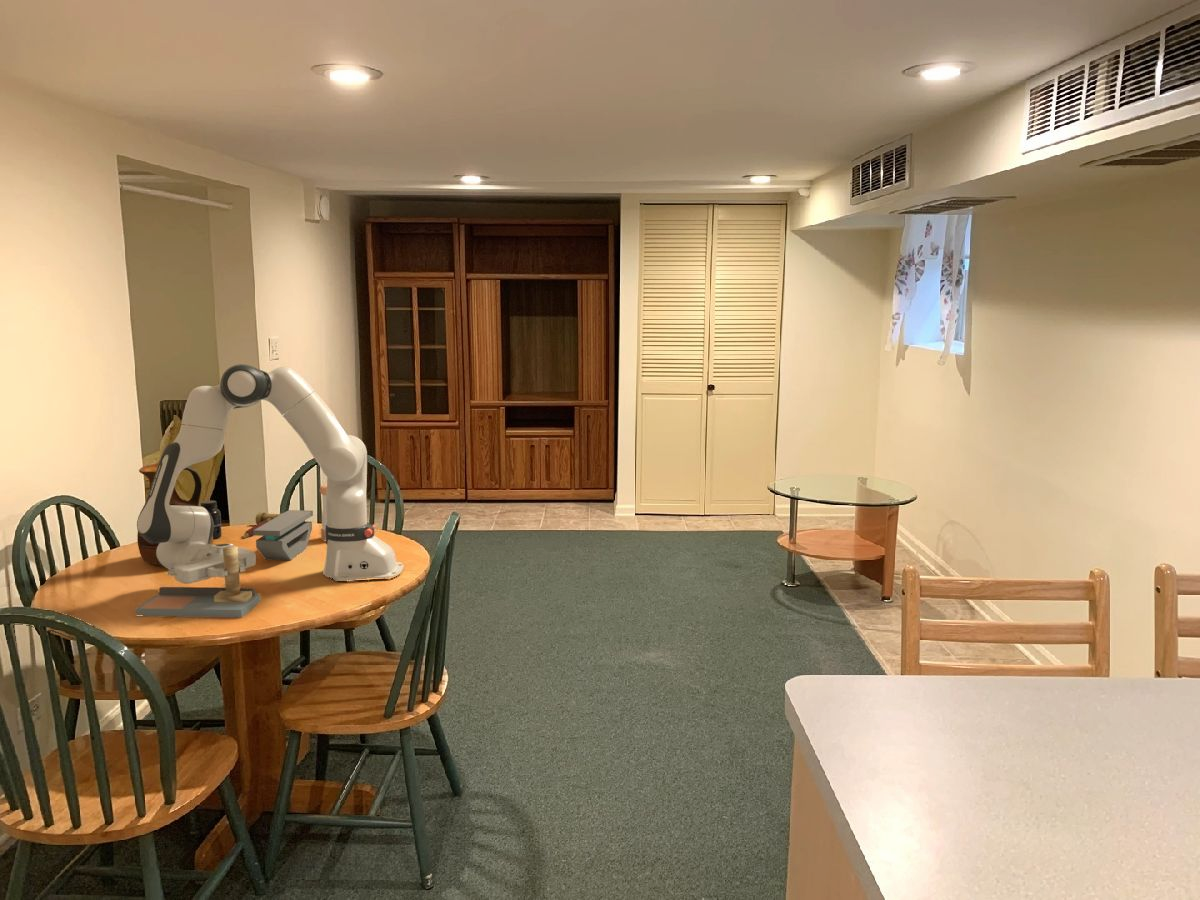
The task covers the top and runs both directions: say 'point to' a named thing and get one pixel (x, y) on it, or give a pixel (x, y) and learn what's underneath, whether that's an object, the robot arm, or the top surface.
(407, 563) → the top surface
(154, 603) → the board
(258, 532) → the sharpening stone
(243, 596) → the beige post stand
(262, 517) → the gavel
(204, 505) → the supplement bottle
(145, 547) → the ceramic pitcher
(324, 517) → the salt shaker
